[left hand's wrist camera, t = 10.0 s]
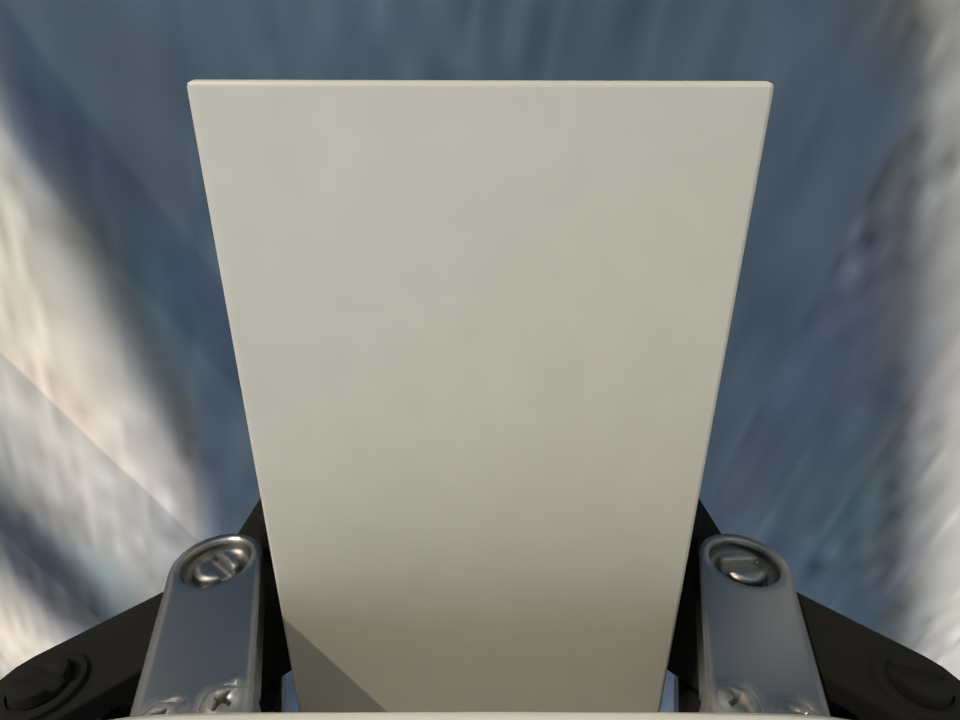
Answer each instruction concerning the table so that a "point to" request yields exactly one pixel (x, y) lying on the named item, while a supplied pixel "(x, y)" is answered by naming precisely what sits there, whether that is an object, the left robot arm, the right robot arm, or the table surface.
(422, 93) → the post
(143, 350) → the table surface
